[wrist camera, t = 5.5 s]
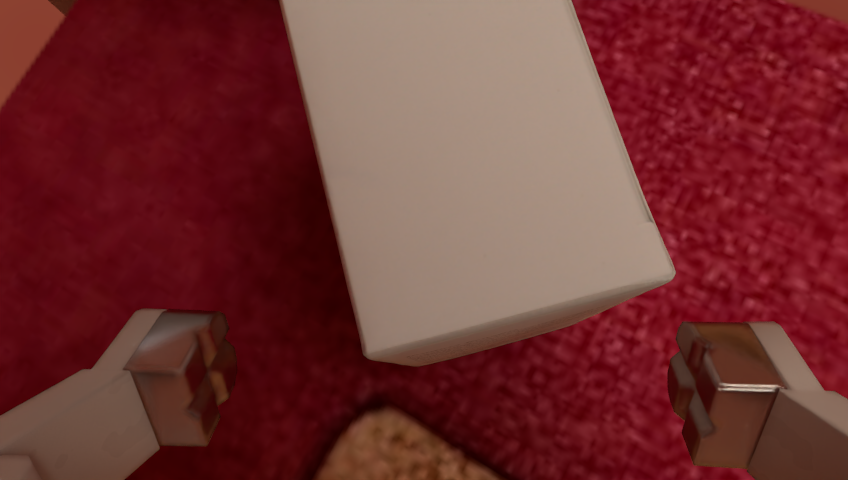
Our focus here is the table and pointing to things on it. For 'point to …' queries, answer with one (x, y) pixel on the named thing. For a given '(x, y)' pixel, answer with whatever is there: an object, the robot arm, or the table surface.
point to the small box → (469, 171)
